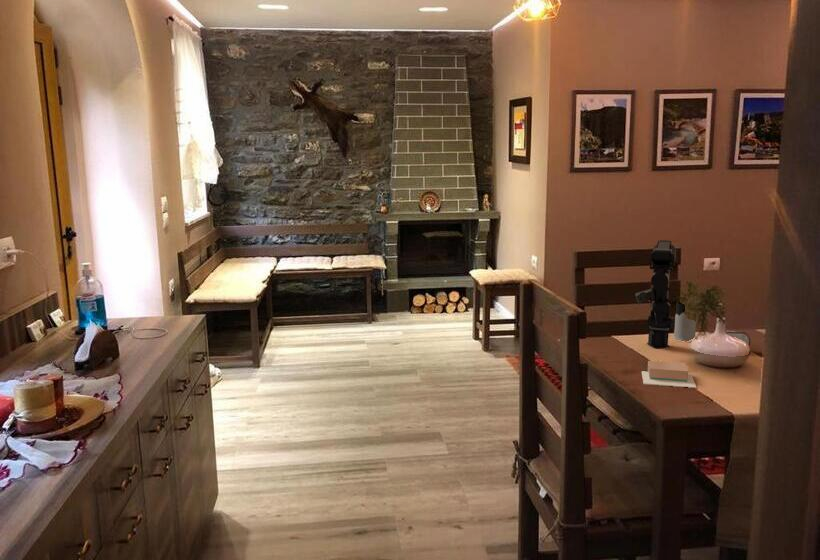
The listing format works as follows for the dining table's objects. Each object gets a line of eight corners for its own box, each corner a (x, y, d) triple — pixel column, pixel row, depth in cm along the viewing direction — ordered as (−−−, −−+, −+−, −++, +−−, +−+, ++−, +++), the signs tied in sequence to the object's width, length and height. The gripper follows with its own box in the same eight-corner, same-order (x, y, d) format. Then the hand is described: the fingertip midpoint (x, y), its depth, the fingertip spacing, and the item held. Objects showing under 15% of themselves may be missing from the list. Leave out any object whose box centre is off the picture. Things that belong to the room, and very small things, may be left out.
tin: (747, 350, 254) (749, 329, 252) (750, 353, 251) (752, 331, 249) (706, 350, 255) (708, 328, 254) (709, 352, 252) (710, 330, 251)
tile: (648, 360, 229) (649, 368, 221) (685, 363, 226) (688, 371, 218) (647, 370, 230) (649, 378, 222) (684, 373, 227) (687, 381, 218)
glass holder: (677, 342, 267) (679, 305, 264) (665, 332, 281) (667, 298, 278) (699, 342, 266) (702, 305, 264) (686, 332, 280) (688, 298, 278)
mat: (641, 372, 230) (641, 371, 230) (691, 375, 225) (691, 374, 225) (643, 384, 217) (643, 383, 217) (696, 388, 213) (696, 387, 213)
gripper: (636, 278, 254) (634, 318, 256) (638, 287, 236) (636, 330, 239) (667, 279, 251) (664, 319, 253) (672, 288, 233) (669, 332, 236)
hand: (658, 325), depth 245 cm, fingers closed
